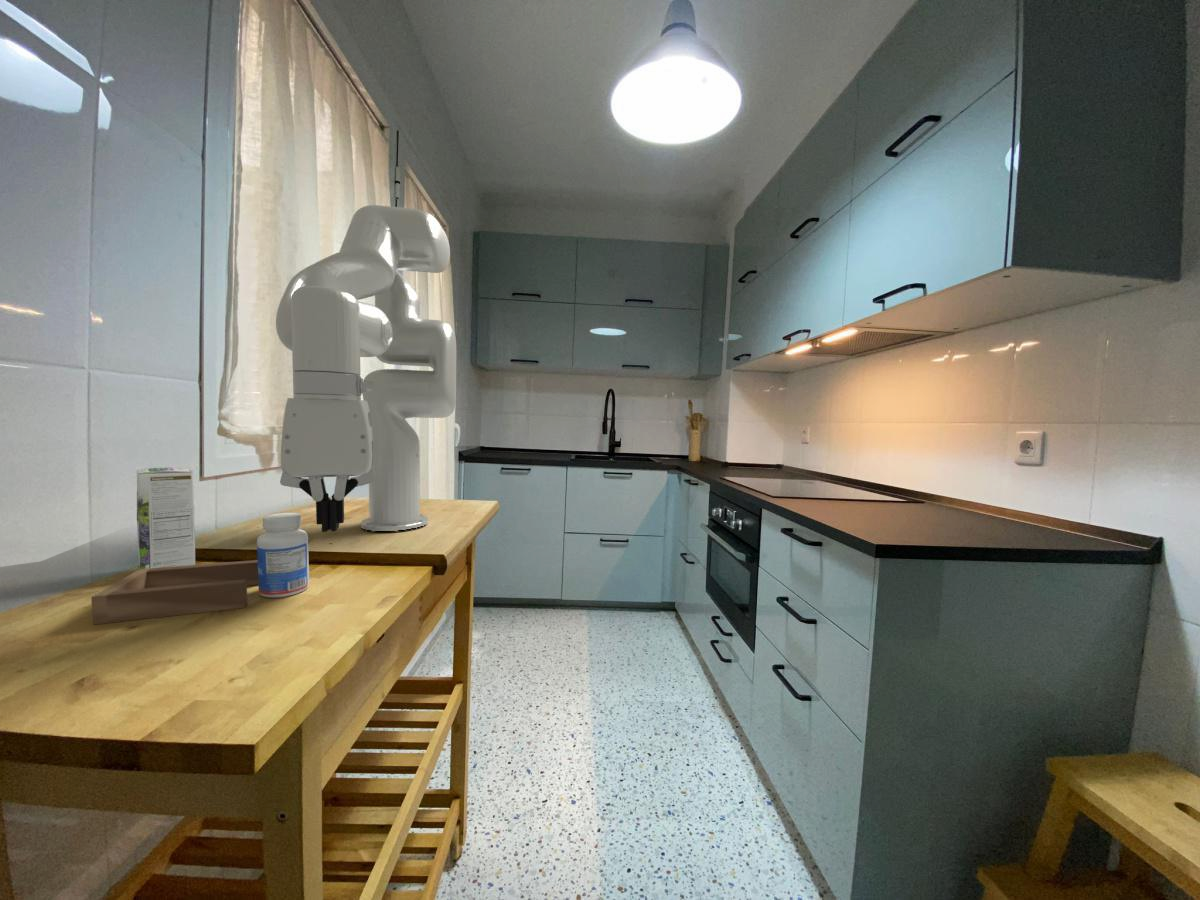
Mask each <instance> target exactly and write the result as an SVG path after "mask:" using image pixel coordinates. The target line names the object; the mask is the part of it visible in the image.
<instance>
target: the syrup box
mask: <svg viewBox="0 0 1200 900" xmlns="http://www.w3.org/2000/svg"><path fill="white" fill-rule="evenodd" d="M194 489H195V487H194V472H193V470H191V469H190V468H188V467H168V466H167V467H151V468H142V469H137V470H136V529H137V553H138V556H137V557H138V570H139V569H150V568H163V567H175V566H188V565H196V540H195V539H196V529H195V528H196V527H195V526H196V525H195V491H194Z"/></svg>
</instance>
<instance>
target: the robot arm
mask: <svg viewBox="0 0 1200 900" xmlns="http://www.w3.org/2000/svg"><path fill="white" fill-rule="evenodd" d="M450 259H451V248H450V243H449V239H448V237H447V234H446V232H445V231H444V229H443V227H442V226H441V224H440V222H439V221H438V220H437V219H436V217H434V215H432V213H430V212H428V211H425V210H422V209H420V208H409V207H400V206H390V205H389V206H388V205H379V204H377V205H376V204H370V205H365V206H362V207H359V209H357V210H356V211H355V213H354V215H352V218H351V221H350V224H349V226H348V228H347V230H346V234H345V236H344V238H343V242H342V243H341V246H340V248H339V252H336V253H333V254H331V255H329V256H326V257H324V258H322V259H320V260H318V261H316V262H315V263H312V264H311V265H310V264H309V265H308V266H306V267H305V268H303V269H301V270H300V271H298V272H297V273H296V274H295V275H294V276H292V277H291V279H290V281H289V283H288V284H287V286H286V288H285V290H284V292H283V295H282V297H281V299H280V301H279V305H278V308H277V312H276V317H275V328H276V329H275V330H276V334H277V336H278V338H279V340H280V342H281V343H282V345H283V346H284V347H286V349H287V350H289V351H291V354H292V355H291V357H292V393H293V395H292V396H293V397H289V398H288V397H287V398H286V399H287V400H286V402H285V407H284V414H283V418H282V419H283V420H282V421H283V422H282V431H281V441H280V442H281V444H280V467H281V471H282V472H281V477H280V479H279V480H280V481H279V483H280V485H281V486H283V487H287V488H288V487H289V488H295V489H301V490H302V491H303V492H305V493H306V494H307V495H309V496H310V497H311V498H312V500H313V501H315V516H316V518H315V519H316V520H315V521H316V525H317V526H318V525H321V533H327V532H328V531H331V532H337V531H338V529H339V527H340V524H344V523H345V497H347V496H348V495H349V494H350V493H351V492H352V491H353V490H355V488H357V487H361V486H366V485H368V503H369V504H368V507H369V509H368V512H369V514H368V515H369V517H366V518H364V519H363V520H361V521H360V528H361V529H362V528H363V529H362V530H364V529H366V530H365V531H367V530H371V531H370V532H375V531H395V530H404V529H411V528H416V529H418V528H417V527H420V526H423V527H424V525H425V526H426V525H428V523H429V518H428V516H427V515H424V514H421V468H420V467H421V464H420V462H421V460H420V459H421V458H420V456H421V454H420V447H421V446H420V439H419V436H418V434H417V432H416V431H415V430H414V428H413V427H412V426H411V425H410V423H409V422H408V421H407V420H406V419H411V418H419V419H420V418H421V419H423V418H425V419H433V418H434V419H442V418H447V417H450V416H451V415H452V414H453V412H454V410H455V407H456V402H457V401H456V399H457V398H456V397H457V341H456V340H457V339H456V334H455V331H454V329H453V327H452V326H451V325H450V323H448V322H447V321H443V320H440V319H439V320H438V319H429V318H420V307H421V300H420V297H419V294H418V293H417V292H416V290H415V288H414V287H413V286H412V285H411V284H410V282H408V281H407V279H406V278H404V276H402V274H400V272H399V271H405V272H406V271H407V272H416V273H417V272H418V273H419V272H420V273H432V274H439V273H443V272H445V271H446V270H447V268H448V267H449V264H450ZM371 297H374V305H373V304H370V303H367V302H363V301H359V300H363V299H367V298H371ZM373 357H376V359H378V360H379V362H381V363H384V364H388V365H394V366H395V365H397V366H409V367H410V366H411V367H430V368H431V369H432V370H417V369H416V370H414V369H400V368H399V369H398V368H396V369H395V368H391V369H390V368H386V369H385V368H381V369H377V370H374V371H371V372H369V373H368V374H367V375H365V377H364V378H362V376H361V358H373ZM362 399H363V400H362ZM335 477H336V479H335V486H334V490H333V491H334V492H333V494H332V495H331V497H329V493H327V487H326V483H325V478H335ZM420 528H421V527H420ZM411 530H412V529H411ZM395 532H396V531H395Z"/></svg>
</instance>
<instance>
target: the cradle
mask: <svg viewBox="0 0 1200 900" xmlns="http://www.w3.org/2000/svg"><path fill="white" fill-rule="evenodd" d="M248 586H258V560H257V559H253V560H240V561H229V562H217V563H205V564H204V563H203V564H201V563H200V564H195V565H188V566H175V567H163V568H150V569H139V568H138V570H136V571H134V572H132V573H131V574H129V575H127V576H126V577H124V578H122V579H120V580H118V581H117V582H115V583H113V584H111V585H110V586H108V587H106V588H105V589H102V590H100V591H99V592H97V593H95V594H94V595H93V596H91V598H90V599H91V614H92V616H91V617H92V625H101V624H102V625H103V624H110V623H118V622H128V621H136V620H146V619H147V620H148V619H155V618H163V617H173V616H182V615H192V614H200V613H210V612H218V611H227V610H236V609H244V608H246V606H247V605H248Z"/></svg>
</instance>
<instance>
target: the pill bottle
mask: <svg viewBox="0 0 1200 900" xmlns="http://www.w3.org/2000/svg"><path fill="white" fill-rule="evenodd" d="M301 526H302V516H301V514H300V513H298V512H280V513H274V514H273V513H272V514H269V515H265V516H263V517H262V528H263V530H264V533H262V534H260V535H259V536H258V537H257V539H256V558H257V559H256V560H258V585H257V586H258V593H259V595H260V596H261V597H264V598H269V599H270V598H286V597H291V596H293V595H296V594H299V593H302V592H305V590H307V589H308V588H309V587H310V566H309V561H310V560H309V535H308V533H307V532H306V531H305V530H303V529H300V527H301Z"/></svg>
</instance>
